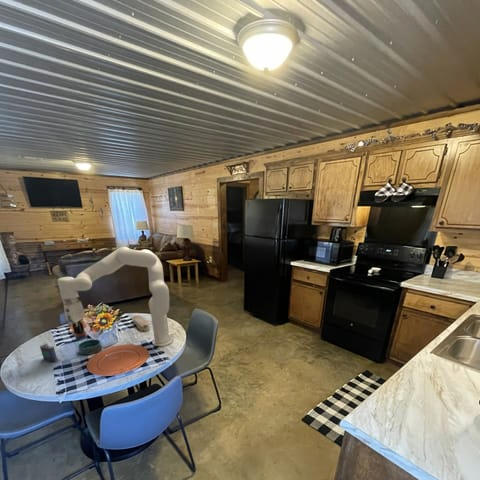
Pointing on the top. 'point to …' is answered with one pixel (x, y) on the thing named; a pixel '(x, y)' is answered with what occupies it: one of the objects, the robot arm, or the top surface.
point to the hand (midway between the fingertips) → (79, 331)
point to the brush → (81, 334)
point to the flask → (48, 353)
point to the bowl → (89, 347)
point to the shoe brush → (141, 323)
